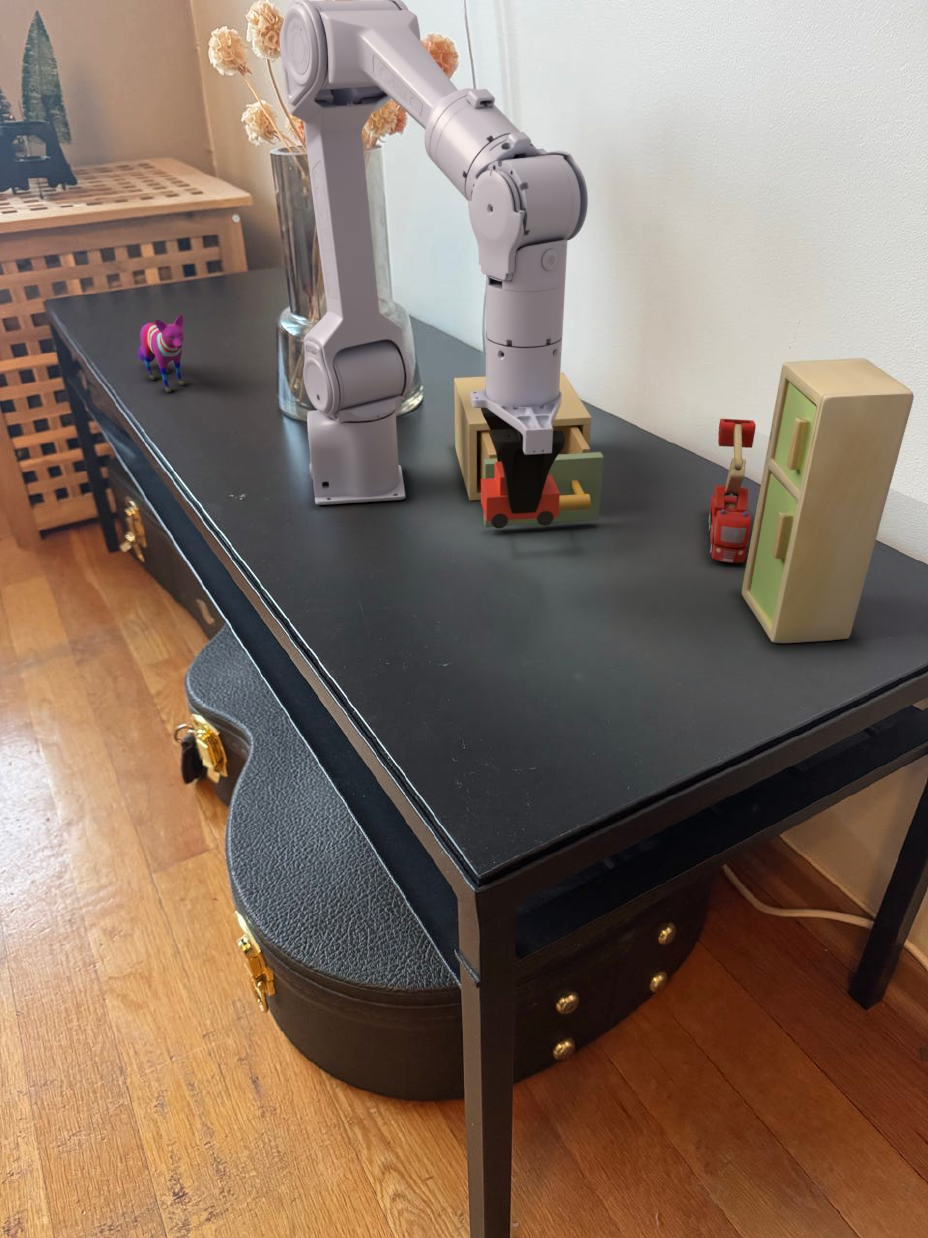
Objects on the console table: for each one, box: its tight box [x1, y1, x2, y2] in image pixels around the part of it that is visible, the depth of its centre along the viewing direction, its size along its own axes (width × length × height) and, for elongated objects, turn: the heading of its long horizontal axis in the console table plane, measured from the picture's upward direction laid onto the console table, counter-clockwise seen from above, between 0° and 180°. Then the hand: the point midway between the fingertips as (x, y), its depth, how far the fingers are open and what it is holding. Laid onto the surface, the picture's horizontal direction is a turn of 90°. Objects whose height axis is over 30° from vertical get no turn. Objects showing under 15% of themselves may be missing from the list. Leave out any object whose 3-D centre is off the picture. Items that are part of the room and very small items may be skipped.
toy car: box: [480, 462, 560, 529], centre depth 75 cm, size 6×4×4 cm, turn 97°
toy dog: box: [137, 314, 187, 394], centre depth 124 cm, size 4×18×10 cm, turn 36°
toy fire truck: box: [707, 418, 757, 564], centre depth 87 cm, size 3×14×10 cm, turn 168°
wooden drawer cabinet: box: [453, 372, 592, 501], centre depth 99 cm, size 14×13×9 cm
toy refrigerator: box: [741, 357, 915, 644], centre depth 71 cm, size 8×7×21 cm
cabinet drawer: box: [477, 425, 604, 528], centre depth 91 cm, size 17×11×7 cm, turn 7°
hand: (519, 499), depth 75 cm, fingers closed on toy car, 3 cm apart
